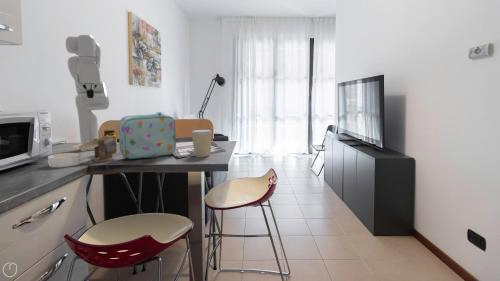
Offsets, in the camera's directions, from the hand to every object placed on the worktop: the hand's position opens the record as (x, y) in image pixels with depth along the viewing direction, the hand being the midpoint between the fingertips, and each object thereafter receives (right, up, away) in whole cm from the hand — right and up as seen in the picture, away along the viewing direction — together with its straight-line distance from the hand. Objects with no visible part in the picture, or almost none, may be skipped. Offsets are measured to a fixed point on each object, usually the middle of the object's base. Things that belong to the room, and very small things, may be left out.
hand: (90, 98), depth 181 cm
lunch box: (+32, -30, -6) cm, 44 cm away
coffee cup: (+57, -29, -6) cm, 64 cm away
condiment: (+6, -28, +8) cm, 30 cm away
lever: (+7, -27, -9) cm, 30 cm away
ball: (-4, -31, -24) cm, 40 cm away
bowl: (-1, -32, -22) cm, 39 cm away
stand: (+11, -31, -12) cm, 35 cm away
